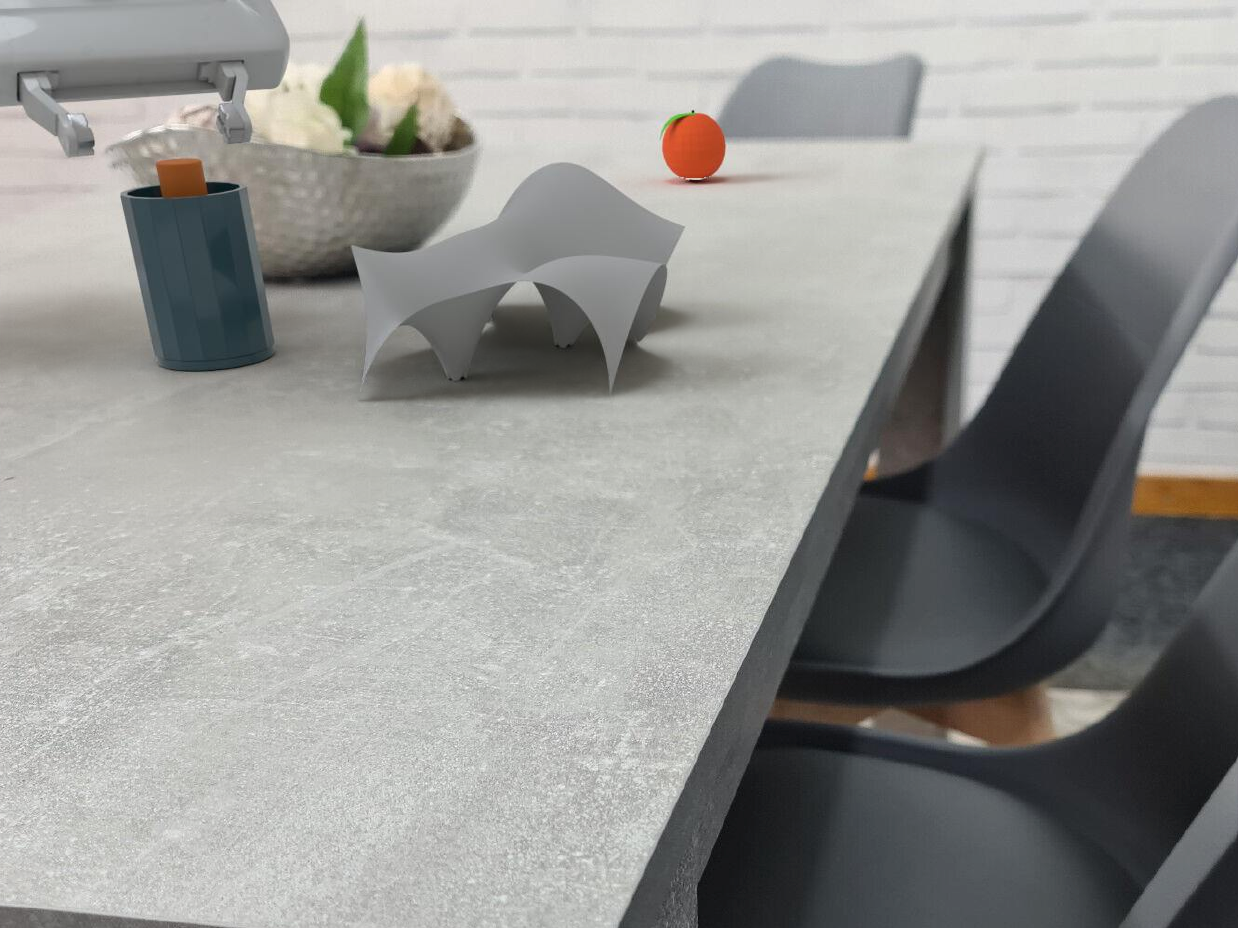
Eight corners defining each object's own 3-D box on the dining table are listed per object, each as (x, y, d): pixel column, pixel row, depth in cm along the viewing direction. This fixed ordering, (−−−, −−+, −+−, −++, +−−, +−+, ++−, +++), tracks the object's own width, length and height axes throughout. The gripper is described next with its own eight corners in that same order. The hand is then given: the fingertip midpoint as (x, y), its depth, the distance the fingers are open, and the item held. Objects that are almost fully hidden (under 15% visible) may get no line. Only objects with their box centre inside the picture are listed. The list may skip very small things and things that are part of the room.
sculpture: (673, 395, 81) (665, 213, 76) (339, 401, 81) (310, 220, 77) (692, 300, 103) (687, 154, 98) (429, 305, 103) (411, 160, 99)
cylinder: (194, 353, 90) (155, 164, 84) (192, 344, 92) (155, 160, 86) (237, 349, 90) (201, 161, 85) (235, 340, 92) (200, 157, 87)
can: (157, 376, 87) (119, 202, 82) (156, 350, 93) (120, 186, 88) (279, 363, 89) (249, 192, 85) (271, 338, 95) (242, 178, 90)
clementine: (681, 188, 152) (678, 115, 149) (642, 182, 157) (639, 111, 154) (739, 180, 157) (738, 109, 153) (700, 174, 161) (698, 105, 158)
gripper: (-114, -84, 80) (-25, 118, 78) (244, -84, 91) (330, 93, 89) (-105, 4, 86) (-22, 196, 83) (231, -6, 96) (313, 164, 94)
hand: (163, 143), depth 86 cm, fingers open, 8 cm apart
